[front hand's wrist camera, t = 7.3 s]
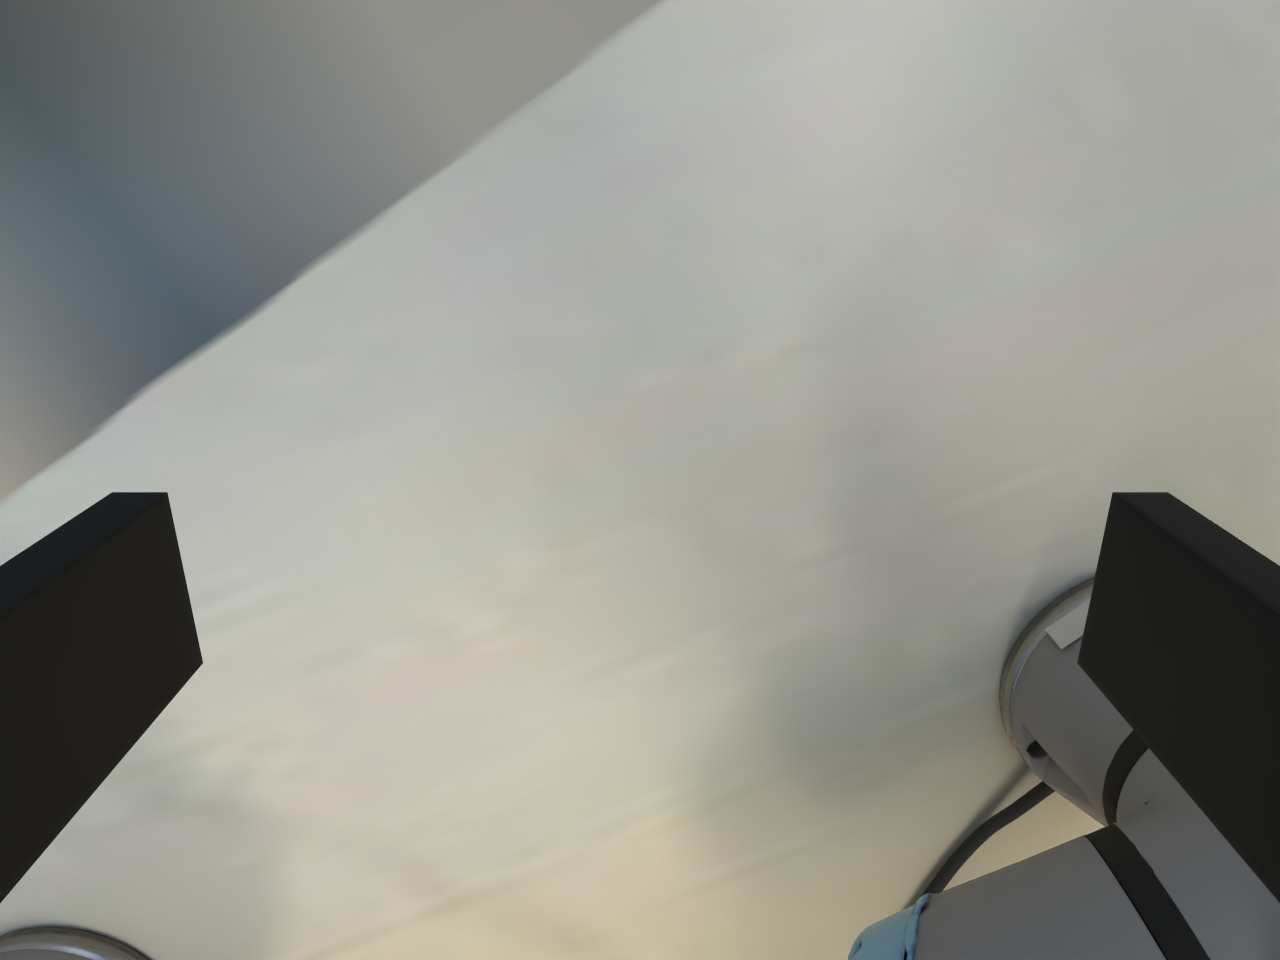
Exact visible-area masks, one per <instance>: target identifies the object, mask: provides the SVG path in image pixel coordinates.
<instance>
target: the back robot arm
mask: <svg viewBox="0 0 1280 960" xmlns="http://www.w3.org/2000/svg"><path fill="white" fill-rule="evenodd" d="M0 960H148V959H147V958H145V957H144V956H142V955H141V954H139V953H138V952H136V951H134V950H132V949H131V948H129V947H127V946H125V945H123V944H121V943H119V942H116V941H114V940H111V939H109V938H106V937H103V936H100V935H97V934H93V933H89V932H85V931H80V930H75V929H67V928H54V927H43V928H31V929H24V930H19V931H15V932H12V933H8V934H5V935H3V936H0Z"/></svg>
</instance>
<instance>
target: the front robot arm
mask: <svg viewBox="0 0 1280 960" xmlns="http://www.w3.org/2000/svg"><path fill="white" fill-rule="evenodd" d="M202 663H203V661H202V656H201V651H200V647H199V642H198V637H197V632H196V627H195V623H194V618H193V613H192V608H191V604H190V599H189V594H188V589H187V584H186V580H185V575H184V570H183V565H182V560H181V556H180V551H179V546H178V541H177V536H176V532H175V527H174V522H173V517H172V512H171V508H170V503H169V498H168V493H167V492H112V493H111V494H109V495H108V496H106V497H105V498H103V499H101V500H100V501H98V502H97V503H95V504H94V505H92V506H91V507H89V508H88V509H86V510H85V511H83V512H82V513H80V514H79V515H77V516H76V517H74V518H73V519H71V520H70V521H68V522H67V523H65V524H63V525H62V526H60V527H59V528H57V529H56V530H54V531H53V532H51V533H50V534H48V535H47V536H45V537H44V538H42V539H41V540H39V541H38V542H36V543H35V544H33V545H32V546H30V547H29V548H27V549H26V550H24V551H22V552H21V553H19V554H18V555H16V556H15V557H13V558H12V559H10V560H9V561H7V562H6V563H4V564H3V565H1V566H0V903H1V902H2V900H3V899H4V898H5V897H6V896H7V895H8V893H9V892H10V891H11V890H12V889H13V887H14V886H15V885H16V884H17V883H18V881H19V880H20V879H21V878H22V877H23V876H24V874H25V873H26V872H27V871H28V870H29V868H30V867H31V866H32V865H33V864H34V863H35V861H36V860H37V859H38V858H39V857H40V855H41V854H42V853H43V852H44V851H45V849H46V848H47V847H48V846H49V845H50V844H51V842H52V841H53V840H54V839H55V838H56V836H57V835H58V834H59V833H60V832H61V831H62V829H63V828H64V827H65V826H66V825H67V823H68V822H69V821H70V820H71V819H72V818H73V816H74V815H75V814H76V813H77V812H78V810H79V809H80V808H81V807H82V806H83V804H84V803H85V802H86V801H87V800H88V799H89V797H90V796H91V795H92V794H93V793H94V791H95V790H96V789H97V788H98V787H99V786H100V784H101V783H102V782H103V781H104V780H105V778H106V777H107V776H108V775H109V774H110V772H111V771H112V770H113V769H114V768H115V767H116V765H117V764H118V763H119V762H120V761H121V759H122V758H123V757H124V756H125V755H126V754H127V752H128V751H129V750H130V749H131V748H132V746H133V745H134V744H135V743H136V742H137V740H138V739H139V738H140V737H141V736H142V735H143V733H144V732H145V731H146V730H147V729H148V727H149V726H150V725H151V724H152V723H153V722H154V720H155V719H156V718H157V717H158V716H159V714H160V713H161V712H162V711H163V710H164V708H165V707H166V706H167V705H168V704H169V703H170V701H171V700H172V699H173V698H174V697H175V695H176V694H177V693H178V692H179V691H180V690H181V688H182V687H183V686H184V685H185V684H186V682H187V681H188V680H189V679H190V678H191V677H192V675H193V674H194V673H195V672H196V671H197V669H198V668H199V667H200V666H201V665H202ZM1000 709H1001V714H1002V719H1003V722H1004V725H1005V728H1006V730H1007V733H1008V735H1009V737H1010V739H1011V740H1012V742H1013V743H1014V745H1015V747H1016V748H1017V750H1018V751H1019V753H1020V755H1021V756H1022V758H1023V759H1024V761H1025V763H1026V764H1027V765H1028V766H1029V768H1030V769H1031V770H1032V771H1033V772H1034V773H1035V774H1036V775H1037V776H1038V777H1039V778H1040V779H1041V780H1043V781H1042V782H1041V783H1039V784H1038V785H1037V786H1035V787H1034V788H1033V789H1031V790H1030V791H1029V792H1027V793H1026V794H1025V795H1023V796H1022V797H1021V798H1019V799H1018V800H1017V801H1015V802H1014V803H1013V804H1011V805H1010V806H1008V807H1007V808H1005V809H1004V810H1002V811H1000V812H999V813H997V814H996V815H994V816H993V817H991V818H990V819H988V820H987V821H986V822H984V823H983V824H982V825H981V826H980V827H979V828H978V829H976V830H975V831H974V832H973V833H972V834H971V835H970V836H969V837H968V838H967V839H966V840H965V841H964V842H963V844H962V845H961V846H960V847H959V848H958V849H957V850H956V851H955V852H954V854H953V855H952V856H951V857H950V858H949V860H948V861H947V862H946V863H945V865H944V866H943V867H942V869H941V870H940V871H939V872H938V874H937V875H936V877H935V878H934V879H933V881H932V882H931V884H930V885H929V886H928V888H927V889H926V891H925V892H924V893H923V895H922V896H921V897H920V898H919V899H918V900H917V901H916V902H915V904H914V905H912V906H910V907H908V908H906V909H904V910H902V911H900V912H898V913H896V914H894V915H891V916H889V917H887V918H885V919H883V920H881V921H879V922H876V923H874V924H872V925H870V926H869V927H867V928H866V929H865V930H864V931H862V932H861V933H860V935H859V936H858V937H857V939H856V940H855V942H854V944H853V946H852V949H851V952H850V954H849V957H848V960H1280V566H1279V565H1277V564H1276V563H1274V562H1273V561H1271V560H1270V559H1268V558H1267V557H1265V556H1264V555H1262V554H1261V553H1259V552H1258V551H1256V550H1254V549H1253V548H1251V547H1250V546H1248V545H1247V544H1245V543H1244V542H1242V541H1241V540H1239V539H1238V538H1236V537H1235V536H1233V535H1232V534H1230V533H1229V532H1227V531H1226V530H1224V529H1223V528H1221V527H1220V526H1218V525H1217V524H1215V523H1213V522H1212V521H1210V520H1209V519H1207V518H1206V517H1204V516H1203V515H1201V514H1200V513H1198V512H1197V511H1195V510H1194V509H1192V508H1191V507H1189V506H1188V505H1186V504H1185V503H1183V502H1182V501H1180V500H1179V499H1177V498H1175V497H1174V496H1172V495H1171V494H1169V493H1168V492H1113V493H1112V498H1111V503H1110V508H1109V512H1108V517H1107V522H1106V527H1105V532H1104V536H1103V541H1102V546H1101V551H1100V556H1099V560H1098V565H1097V570H1096V575H1095V577H1094V578H1092V579H1090V580H1087V581H1085V582H1083V583H1081V584H1080V585H1078V586H1076V587H1074V588H1072V589H1071V590H1069V591H1067V592H1066V593H1064V594H1063V595H1061V596H1060V597H1058V598H1057V599H1056V600H1054V601H1053V602H1052V603H1050V604H1049V605H1048V606H1047V607H1046V608H1045V609H1044V610H1043V611H1041V612H1040V613H1039V614H1038V615H1037V616H1036V617H1035V619H1034V620H1033V621H1032V622H1031V623H1030V624H1029V625H1028V627H1027V628H1026V629H1025V630H1024V632H1023V633H1022V634H1021V636H1020V637H1019V639H1018V640H1017V642H1016V644H1015V645H1014V647H1013V649H1012V651H1011V653H1010V655H1009V658H1008V660H1007V663H1006V665H1005V668H1004V672H1003V675H1002V681H1001V686H1000ZM1054 791H1056V792H1058V793H1059V794H1060V795H1062V796H1063V797H1065V798H1066V799H1067V800H1069V801H1070V802H1072V803H1073V804H1074V805H1076V806H1077V807H1078V808H1080V809H1081V810H1083V811H1084V812H1085V813H1087V814H1088V815H1090V816H1091V817H1092V818H1094V819H1095V820H1097V821H1098V822H1099V823H1101V824H1102V825H1104V826H1105V828H1102V829H1100V830H1097V831H1095V832H1092V833H1090V834H1088V835H1084V836H1081V837H1078V838H1076V839H1074V840H1071V841H1069V842H1066V843H1064V844H1061V845H1059V846H1056V847H1054V848H1052V849H1049V850H1047V851H1044V852H1042V853H1039V854H1037V855H1034V856H1032V857H1030V858H1027V859H1025V860H1022V861H1020V862H1017V863H1015V864H1012V865H1010V866H1007V867H1004V868H1002V869H999V870H997V871H994V872H992V873H989V874H986V875H984V876H981V877H979V878H976V879H974V880H971V881H968V882H966V883H963V884H961V885H958V886H956V887H953V888H950V889H948V890H945V891H943V889H944V888H945V887H946V885H947V884H948V883H949V881H950V880H951V879H952V877H953V876H954V875H955V873H956V872H957V871H958V870H959V869H960V867H961V866H962V865H963V864H964V863H965V862H966V860H967V859H968V858H969V857H970V856H971V855H972V854H973V853H974V852H975V851H976V850H977V849H978V848H979V847H980V846H981V845H982V844H983V843H984V842H985V841H986V840H987V839H988V838H989V837H990V836H992V835H993V834H994V833H995V832H997V831H998V830H999V829H1001V828H1002V827H1004V826H1006V825H1007V824H1009V823H1010V822H1012V821H1014V820H1015V819H1017V818H1018V817H1020V816H1021V815H1023V814H1024V813H1025V812H1027V811H1028V810H1030V809H1031V808H1032V807H1034V806H1035V805H1036V804H1038V803H1039V802H1041V801H1042V800H1043V799H1045V798H1046V797H1047V796H1049V795H1050V794H1051V793H1053V792H1054ZM942 891H943V892H942Z"/></svg>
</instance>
